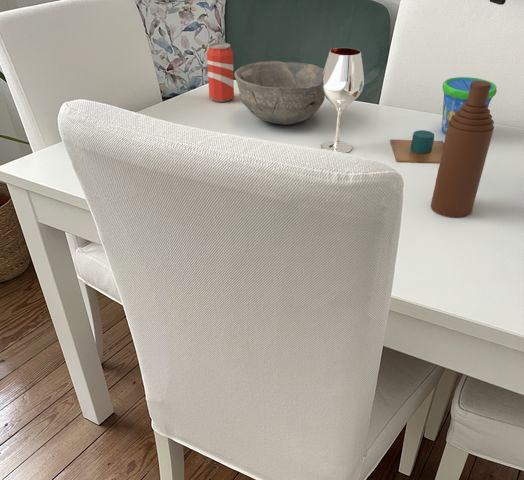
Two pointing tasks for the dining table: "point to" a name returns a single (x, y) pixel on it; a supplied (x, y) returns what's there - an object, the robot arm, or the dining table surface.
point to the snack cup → (458, 96)
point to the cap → (422, 142)
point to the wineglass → (342, 87)
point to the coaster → (407, 155)
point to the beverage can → (220, 72)
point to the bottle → (464, 154)
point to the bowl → (281, 90)
